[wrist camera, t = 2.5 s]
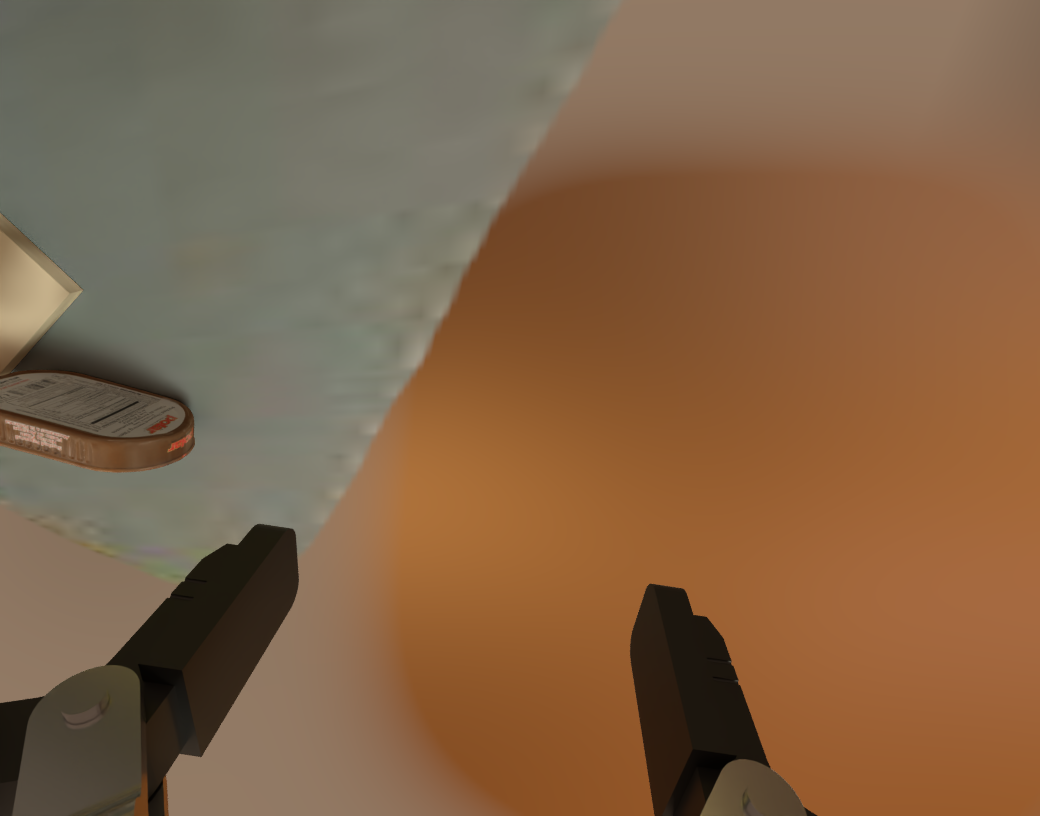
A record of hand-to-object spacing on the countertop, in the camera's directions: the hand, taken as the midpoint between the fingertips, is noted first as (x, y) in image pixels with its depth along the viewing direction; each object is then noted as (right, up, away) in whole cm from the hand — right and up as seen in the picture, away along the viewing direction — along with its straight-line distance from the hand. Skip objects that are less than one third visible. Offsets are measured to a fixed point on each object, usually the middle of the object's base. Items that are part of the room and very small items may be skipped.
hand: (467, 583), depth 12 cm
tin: (-32, +5, +31) cm, 45 cm away
